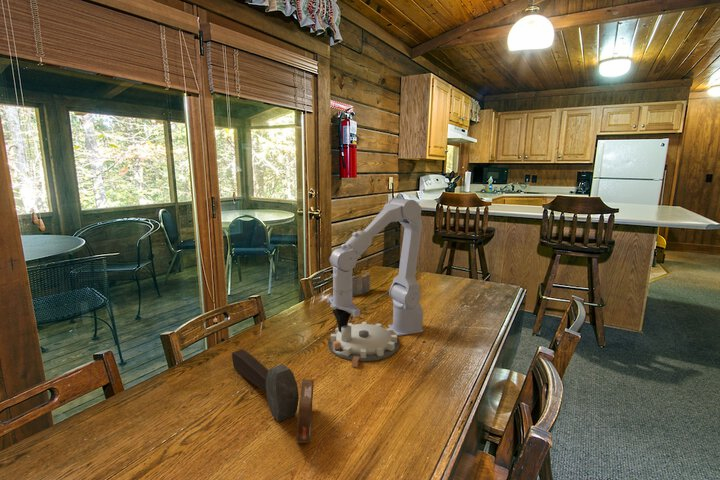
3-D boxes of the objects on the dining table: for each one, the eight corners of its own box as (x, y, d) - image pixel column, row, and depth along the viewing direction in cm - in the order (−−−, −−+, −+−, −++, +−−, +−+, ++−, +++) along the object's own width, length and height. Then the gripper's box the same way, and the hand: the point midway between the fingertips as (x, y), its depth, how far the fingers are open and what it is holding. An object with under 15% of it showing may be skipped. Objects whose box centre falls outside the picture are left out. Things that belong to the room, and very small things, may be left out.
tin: (301, 404, 86) (300, 371, 84) (315, 403, 86) (314, 370, 84) (295, 453, 71) (294, 414, 69) (312, 452, 71) (311, 414, 70)
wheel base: (382, 324, 129) (383, 320, 128) (414, 357, 107) (414, 352, 107) (320, 333, 122) (320, 329, 121) (340, 370, 100) (340, 365, 100)
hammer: (231, 380, 101) (280, 427, 78) (226, 341, 100) (275, 376, 77) (248, 374, 104) (300, 418, 81) (243, 336, 103) (295, 368, 80)
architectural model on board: (365, 290, 165) (365, 269, 163) (369, 292, 163) (369, 270, 161) (345, 296, 158) (345, 274, 156) (350, 298, 155) (350, 275, 154)
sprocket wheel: (375, 322, 128) (375, 306, 127) (410, 347, 111) (410, 329, 110) (320, 335, 119) (320, 317, 118) (349, 365, 101) (349, 344, 100)
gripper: (318, 285, 113) (319, 326, 116) (345, 298, 102) (346, 344, 105) (337, 280, 118) (337, 320, 120) (365, 293, 106) (365, 337, 109)
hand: (342, 331), depth 113 cm, fingers closed, pressing on sprocket wheel
